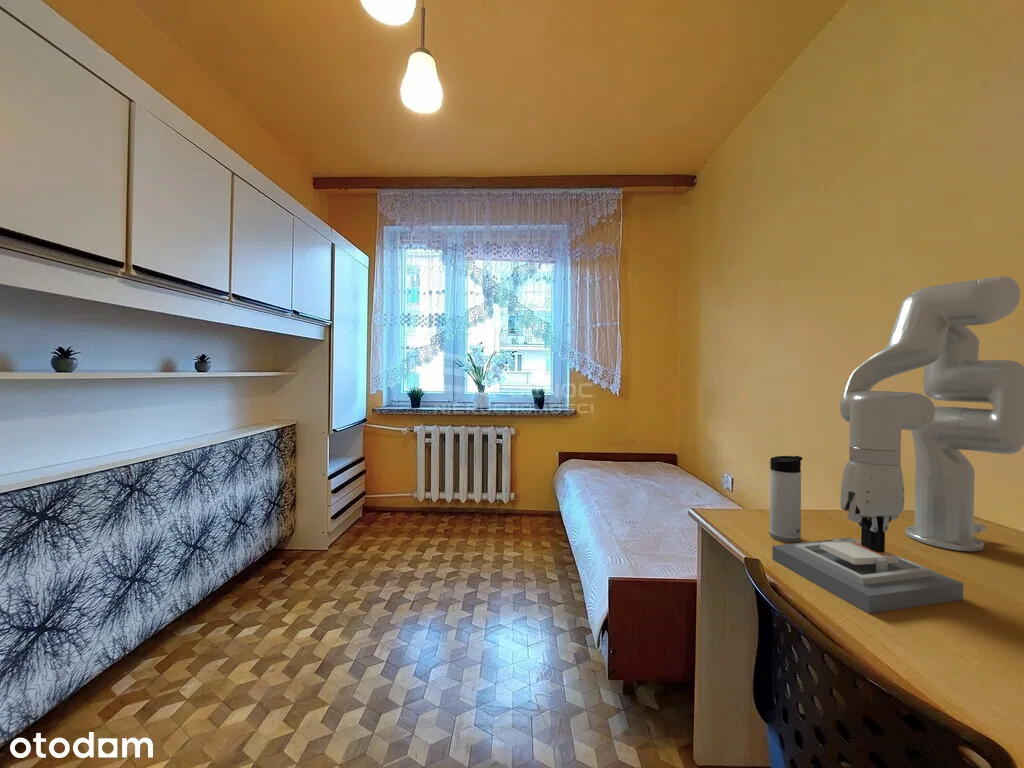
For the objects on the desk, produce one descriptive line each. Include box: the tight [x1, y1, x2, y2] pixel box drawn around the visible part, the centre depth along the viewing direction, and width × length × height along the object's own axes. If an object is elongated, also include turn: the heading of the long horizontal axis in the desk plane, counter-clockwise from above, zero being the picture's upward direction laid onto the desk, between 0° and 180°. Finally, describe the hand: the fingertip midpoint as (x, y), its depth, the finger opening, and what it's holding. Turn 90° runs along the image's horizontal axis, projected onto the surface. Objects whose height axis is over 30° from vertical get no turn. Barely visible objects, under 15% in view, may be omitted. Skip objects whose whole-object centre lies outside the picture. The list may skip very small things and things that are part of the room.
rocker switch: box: [820, 542, 900, 565], centre depth 79 cm, size 10×7×1 cm
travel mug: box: [769, 455, 803, 544], centre depth 98 cm, size 6×7×20 cm
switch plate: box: [771, 537, 964, 614], centre depth 79 cm, size 20×20×6 cm
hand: (872, 549), depth 80 cm, fingers closed
